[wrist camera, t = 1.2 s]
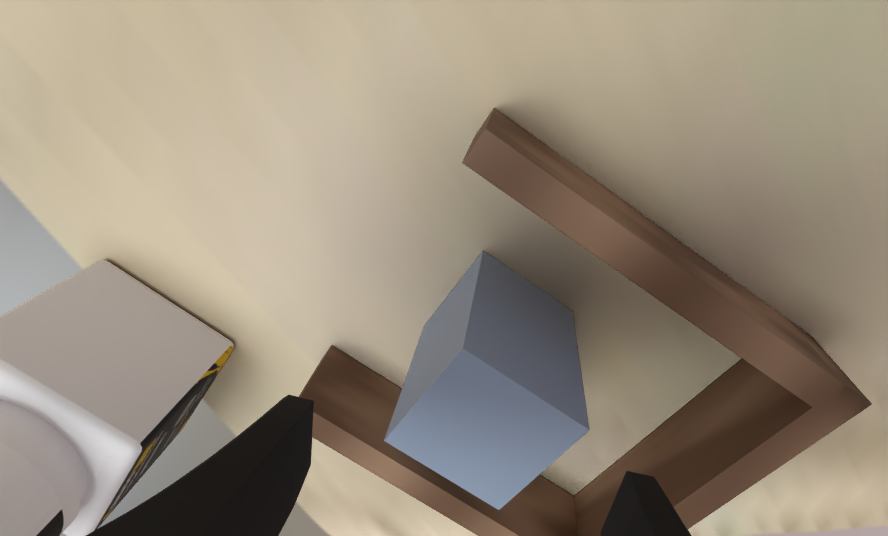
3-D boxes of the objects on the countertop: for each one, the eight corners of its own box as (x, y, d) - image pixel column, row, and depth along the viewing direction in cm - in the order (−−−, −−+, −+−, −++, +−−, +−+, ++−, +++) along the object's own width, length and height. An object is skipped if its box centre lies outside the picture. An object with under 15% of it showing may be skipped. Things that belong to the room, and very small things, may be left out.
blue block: (572, 311, 22) (589, 430, 15) (507, 379, 23) (498, 510, 17) (483, 250, 21) (462, 348, 15) (424, 325, 23) (384, 441, 17)
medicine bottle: (184, 427, 28) (-33, 681, 17) (63, 353, 27) (-248, 573, 16) (239, 341, 25) (16, 586, 14) (104, 254, 24) (-245, 446, 13)
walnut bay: (812, 336, 20) (871, 404, 17) (577, 520, 26) (584, 599, 23) (494, 108, 19) (485, 128, 15) (320, 362, 25) (284, 420, 21)
